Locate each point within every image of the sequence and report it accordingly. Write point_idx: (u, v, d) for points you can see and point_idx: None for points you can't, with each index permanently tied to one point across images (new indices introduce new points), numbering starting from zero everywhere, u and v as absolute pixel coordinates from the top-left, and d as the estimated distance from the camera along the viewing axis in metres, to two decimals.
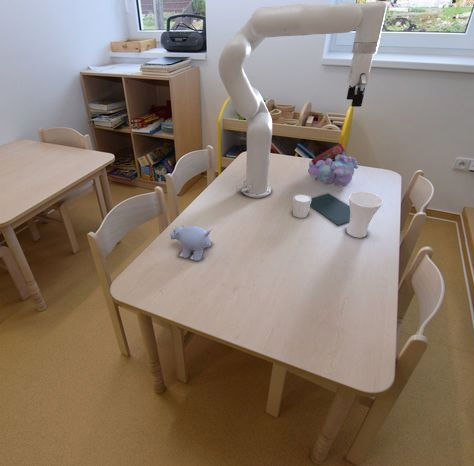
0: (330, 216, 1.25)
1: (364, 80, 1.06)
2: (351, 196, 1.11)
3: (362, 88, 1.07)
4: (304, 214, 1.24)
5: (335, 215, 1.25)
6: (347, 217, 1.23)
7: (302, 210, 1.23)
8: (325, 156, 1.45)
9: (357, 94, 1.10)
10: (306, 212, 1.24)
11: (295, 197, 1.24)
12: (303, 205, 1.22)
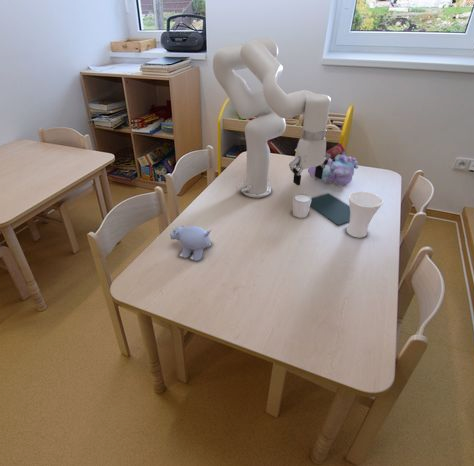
0: (330, 216, 1.25)
1: (292, 162, 1.12)
2: (351, 196, 1.11)
3: (291, 169, 1.14)
4: (304, 214, 1.24)
5: (335, 215, 1.25)
6: (347, 217, 1.23)
7: (302, 210, 1.23)
8: None
9: (293, 172, 1.16)
10: (306, 212, 1.24)
11: (295, 197, 1.24)
12: (303, 205, 1.22)
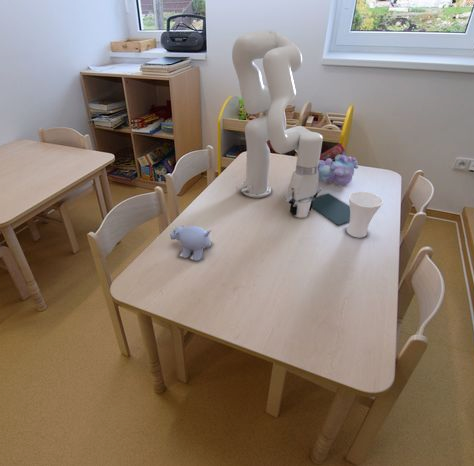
0: (330, 216, 1.25)
1: (287, 196, 1.20)
2: (351, 196, 1.11)
3: (287, 201, 1.21)
4: (304, 214, 1.24)
5: (335, 215, 1.25)
6: (347, 217, 1.23)
7: (302, 210, 1.23)
8: (325, 156, 1.45)
9: (290, 203, 1.23)
10: (306, 212, 1.24)
11: None
12: (303, 205, 1.22)
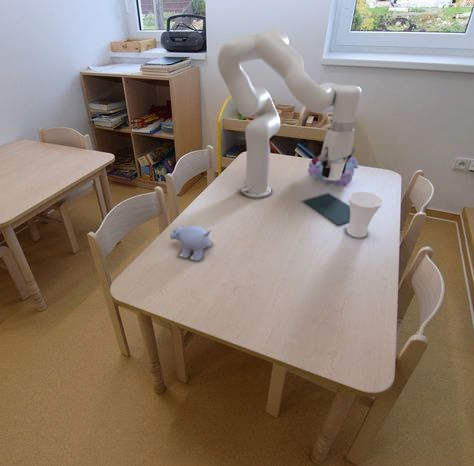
0: (330, 216, 1.25)
1: (321, 156, 1.14)
2: (351, 196, 1.11)
3: (321, 162, 1.16)
4: (337, 176, 1.19)
5: (335, 215, 1.25)
6: (347, 217, 1.23)
7: (336, 172, 1.18)
8: None
9: (322, 165, 1.18)
10: (339, 174, 1.19)
11: None
12: (337, 166, 1.16)
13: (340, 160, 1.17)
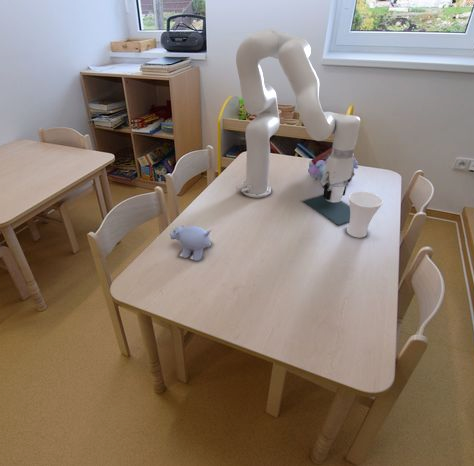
0: (330, 216, 1.25)
1: (322, 180, 1.20)
2: (351, 196, 1.11)
3: (322, 186, 1.22)
4: (338, 199, 1.25)
5: (335, 215, 1.25)
6: (347, 217, 1.23)
7: (336, 195, 1.23)
8: (325, 156, 1.45)
9: (324, 188, 1.24)
10: (340, 197, 1.25)
11: None
12: (338, 189, 1.22)
13: (340, 183, 1.23)
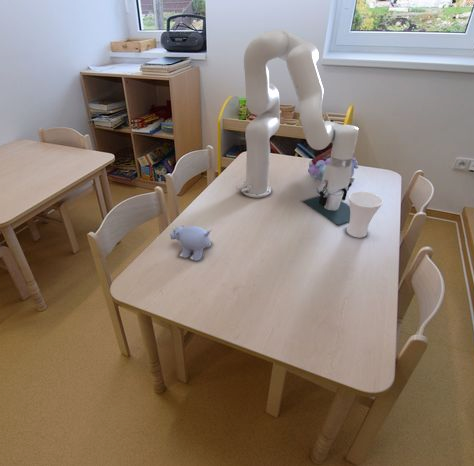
0: (330, 216, 1.25)
1: (320, 186, 1.21)
2: (351, 196, 1.11)
3: (318, 191, 1.23)
4: (336, 207, 1.27)
5: (335, 215, 1.25)
6: (347, 217, 1.23)
7: (334, 203, 1.26)
8: (325, 156, 1.45)
9: (319, 194, 1.25)
10: (338, 205, 1.27)
11: None
12: (336, 198, 1.24)
13: (338, 192, 1.25)
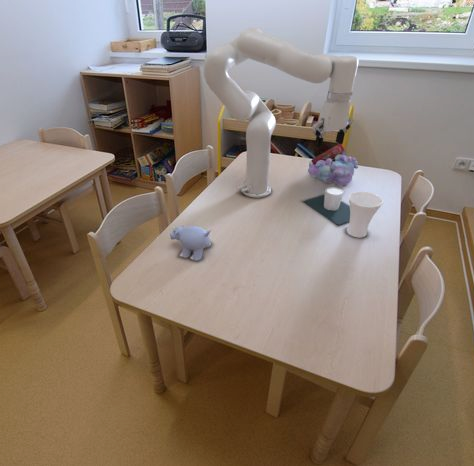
0: (330, 216, 1.25)
1: (316, 124, 1.15)
2: (351, 196, 1.11)
3: (314, 131, 1.17)
4: (336, 207, 1.27)
5: (335, 215, 1.25)
6: (347, 217, 1.23)
7: (334, 203, 1.26)
8: (325, 156, 1.45)
9: (316, 135, 1.19)
10: (338, 205, 1.27)
11: (327, 190, 1.27)
12: (336, 198, 1.24)
13: (338, 192, 1.25)
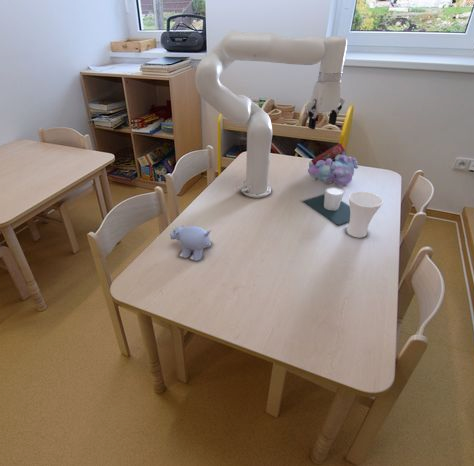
0: (330, 216, 1.25)
1: (308, 105, 1.17)
2: (351, 196, 1.11)
3: (307, 112, 1.19)
4: (336, 207, 1.27)
5: (335, 215, 1.25)
6: (347, 217, 1.23)
7: (334, 203, 1.26)
8: (325, 156, 1.45)
9: (308, 116, 1.21)
10: (338, 205, 1.27)
11: (327, 190, 1.27)
12: (336, 198, 1.24)
13: (338, 192, 1.25)
